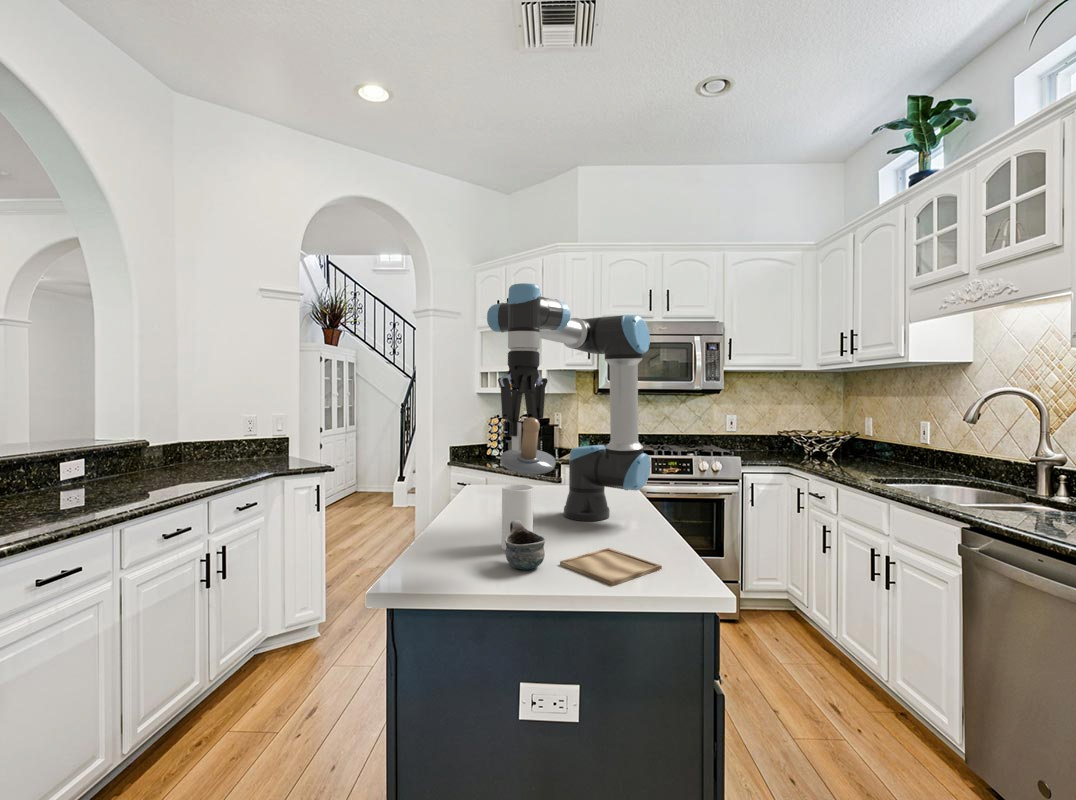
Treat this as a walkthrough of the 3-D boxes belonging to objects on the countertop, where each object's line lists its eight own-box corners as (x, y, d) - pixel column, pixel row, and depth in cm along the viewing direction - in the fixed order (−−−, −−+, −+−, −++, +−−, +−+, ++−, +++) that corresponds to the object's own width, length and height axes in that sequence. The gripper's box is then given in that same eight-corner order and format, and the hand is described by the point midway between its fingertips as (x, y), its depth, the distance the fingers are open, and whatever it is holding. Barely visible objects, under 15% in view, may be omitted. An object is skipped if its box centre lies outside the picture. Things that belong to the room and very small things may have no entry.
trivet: (608, 551, 141) (608, 548, 141) (661, 569, 128) (661, 565, 128) (560, 564, 130) (560, 561, 130) (612, 585, 117) (613, 581, 117)
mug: (517, 577, 121) (517, 533, 121) (491, 561, 132) (491, 520, 131) (552, 569, 127) (553, 527, 126) (524, 555, 137) (525, 515, 137)
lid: (532, 448, 136) (536, 406, 133) (566, 467, 127) (571, 422, 123) (489, 457, 128) (492, 413, 125) (522, 478, 119) (526, 430, 115)
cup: (528, 553, 139) (529, 491, 138) (498, 550, 140) (498, 489, 140) (535, 543, 147) (536, 485, 146) (506, 541, 148) (506, 483, 148)
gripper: (539, 352, 136) (539, 445, 136) (486, 349, 125) (485, 450, 126) (559, 351, 130) (558, 448, 131) (505, 348, 119) (504, 453, 120)
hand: (522, 449), depth 128 cm, fingers closed on lid, 3 cm apart
